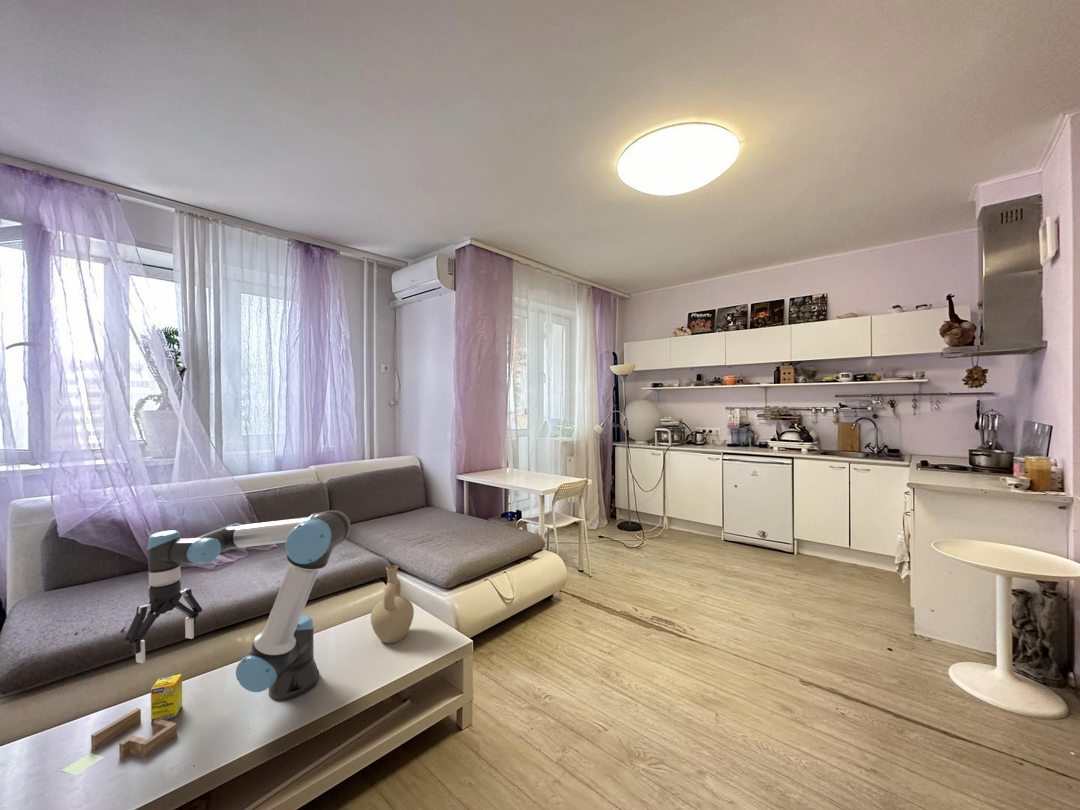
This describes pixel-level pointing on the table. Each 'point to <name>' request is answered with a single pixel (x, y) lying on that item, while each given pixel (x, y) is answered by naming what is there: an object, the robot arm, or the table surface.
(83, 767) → the pad
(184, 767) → the table surface
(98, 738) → the tunnel rails
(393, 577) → the vase
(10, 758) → the table surface
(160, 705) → the supplement box
